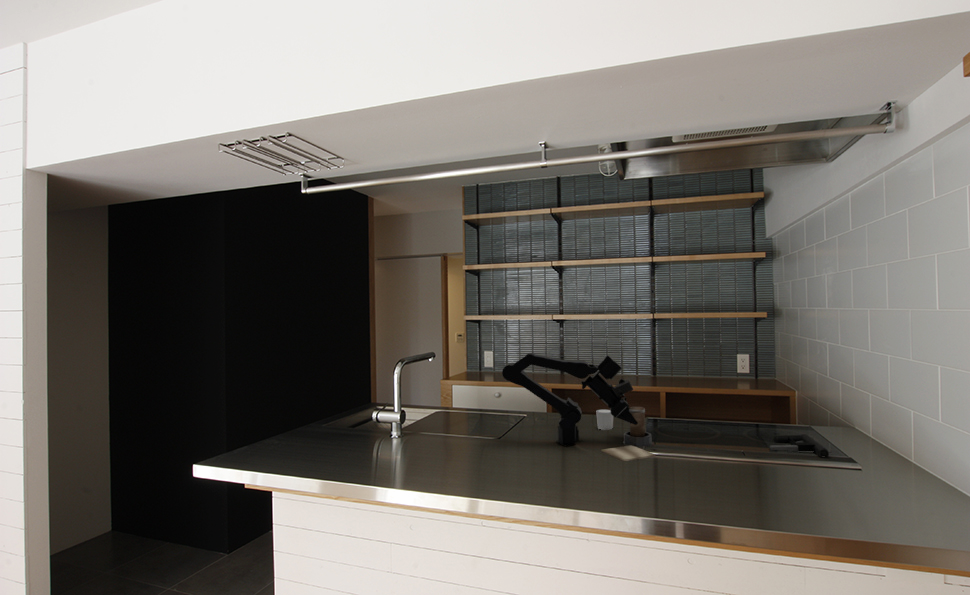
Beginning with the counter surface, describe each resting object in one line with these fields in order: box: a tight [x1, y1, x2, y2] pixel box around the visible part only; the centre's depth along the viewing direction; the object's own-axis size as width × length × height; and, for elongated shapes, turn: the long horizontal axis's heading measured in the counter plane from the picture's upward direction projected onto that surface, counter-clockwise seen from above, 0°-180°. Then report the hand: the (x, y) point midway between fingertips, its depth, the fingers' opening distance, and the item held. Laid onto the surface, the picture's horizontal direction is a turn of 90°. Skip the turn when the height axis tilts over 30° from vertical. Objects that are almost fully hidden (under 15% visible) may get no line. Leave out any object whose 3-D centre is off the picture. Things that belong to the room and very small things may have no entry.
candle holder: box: [622, 430, 654, 448], centre depth 181 cm, size 10×10×4 cm
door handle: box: [769, 433, 832, 457], centre depth 174 cm, size 3×20×16 cm
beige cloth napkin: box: [600, 445, 656, 462], centre depth 168 cm, size 12×12×2 cm
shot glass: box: [595, 408, 615, 431], centre depth 206 cm, size 7×7×7 cm
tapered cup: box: [629, 406, 646, 437], centre depth 181 cm, size 5×5×12 cm
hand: (635, 420), depth 181 cm, fingers open, 9 cm apart
